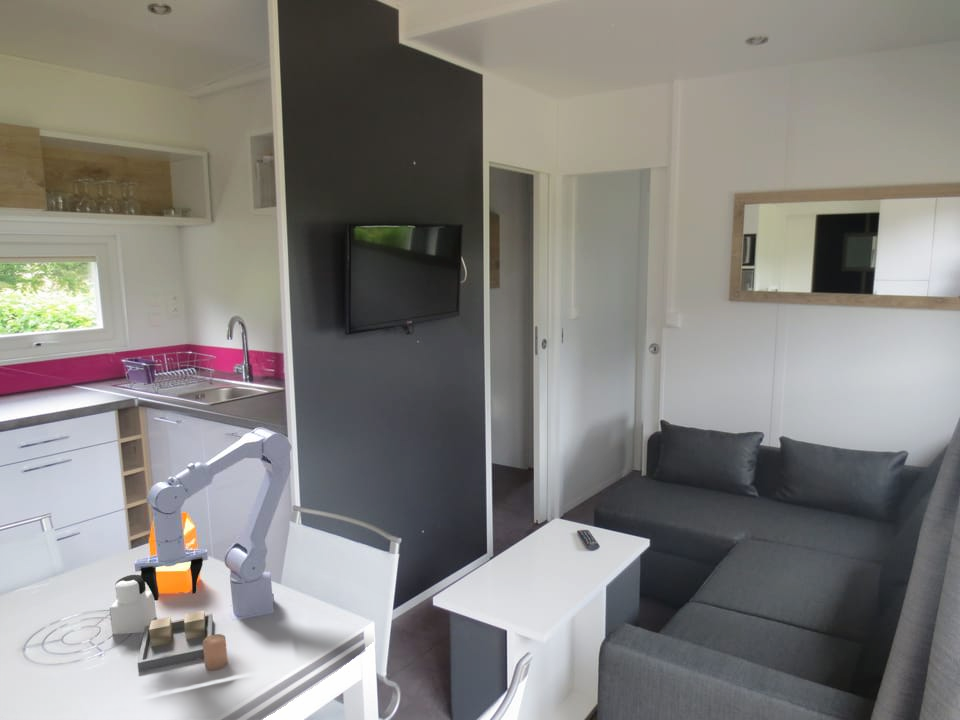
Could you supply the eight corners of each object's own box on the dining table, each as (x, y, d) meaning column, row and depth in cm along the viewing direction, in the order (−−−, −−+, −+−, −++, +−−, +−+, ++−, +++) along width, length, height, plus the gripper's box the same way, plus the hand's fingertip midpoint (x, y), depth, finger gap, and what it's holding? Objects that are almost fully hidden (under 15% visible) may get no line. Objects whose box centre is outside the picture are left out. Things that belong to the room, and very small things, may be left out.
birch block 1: (172, 633, 153) (170, 616, 152) (171, 642, 149) (169, 625, 149) (153, 637, 152) (151, 620, 151) (151, 646, 148) (149, 629, 147)
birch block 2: (205, 626, 155) (204, 610, 155) (205, 635, 152) (203, 619, 151) (186, 630, 154) (185, 614, 153) (185, 639, 150) (184, 622, 150)
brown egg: (227, 658, 144) (225, 632, 143) (227, 670, 140) (225, 643, 139) (205, 663, 142) (202, 636, 141) (204, 675, 138) (202, 648, 137)
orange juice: (188, 593, 173) (180, 518, 170) (153, 593, 173) (145, 519, 170) (201, 578, 180) (194, 506, 177) (168, 579, 181) (160, 507, 178)
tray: (213, 623, 158) (212, 613, 158) (211, 658, 144) (210, 647, 144) (146, 636, 153) (145, 626, 153) (138, 674, 139) (137, 662, 139)
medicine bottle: (125, 620, 161) (120, 572, 159) (157, 618, 161) (151, 570, 159) (112, 636, 154) (106, 587, 152) (145, 634, 154) (139, 585, 152)
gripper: (130, 549, 142) (137, 610, 144) (204, 538, 147) (210, 596, 149) (134, 537, 149) (141, 594, 151) (205, 526, 154) (211, 582, 156)
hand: (175, 594), depth 150 cm, fingers open, 7 cm apart
